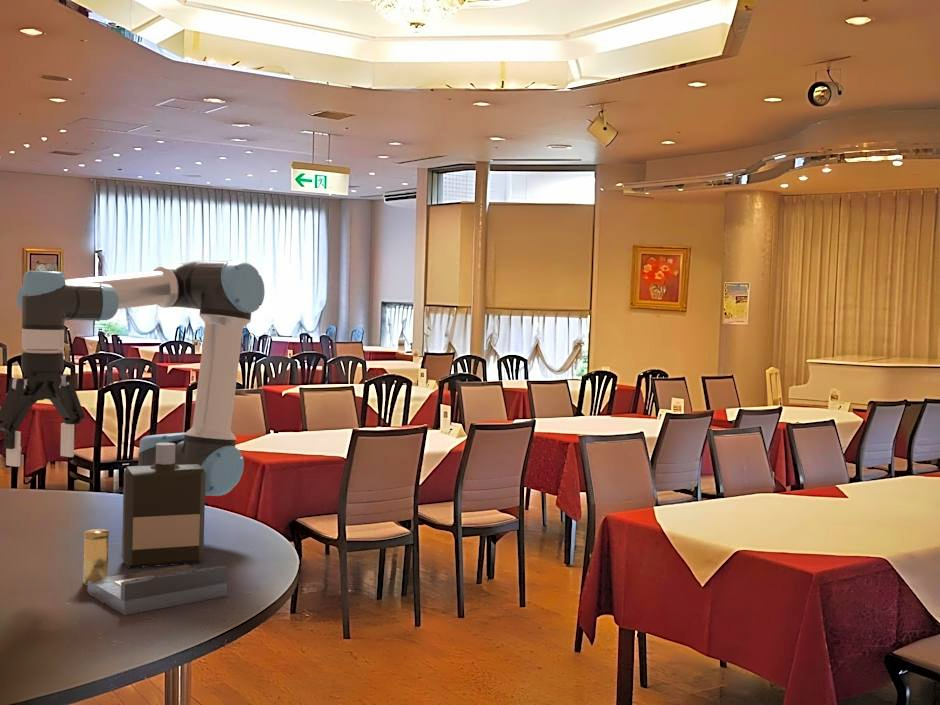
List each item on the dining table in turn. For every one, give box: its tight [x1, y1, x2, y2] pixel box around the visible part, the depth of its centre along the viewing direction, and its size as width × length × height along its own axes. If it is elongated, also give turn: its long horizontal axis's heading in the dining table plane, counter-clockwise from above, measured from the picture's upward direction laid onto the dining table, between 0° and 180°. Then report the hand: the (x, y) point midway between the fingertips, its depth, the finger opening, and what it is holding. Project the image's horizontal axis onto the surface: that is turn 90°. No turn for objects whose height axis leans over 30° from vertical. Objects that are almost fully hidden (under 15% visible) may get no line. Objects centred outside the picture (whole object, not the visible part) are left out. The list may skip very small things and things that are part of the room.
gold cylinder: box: [82, 528, 110, 585], centre depth 196 cm, size 4×4×10 cm
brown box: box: [121, 443, 206, 569], centre depth 213 cm, size 8×16×25 cm, turn 115°
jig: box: [87, 564, 228, 616], centre depth 190 cm, size 20×16×6 cm
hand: (40, 461), depth 196 cm, fingers open, 13 cm apart
